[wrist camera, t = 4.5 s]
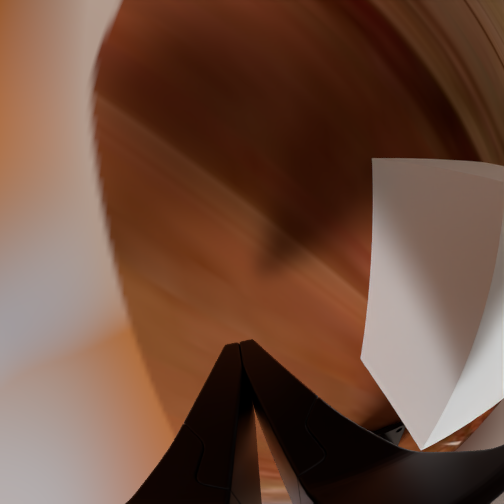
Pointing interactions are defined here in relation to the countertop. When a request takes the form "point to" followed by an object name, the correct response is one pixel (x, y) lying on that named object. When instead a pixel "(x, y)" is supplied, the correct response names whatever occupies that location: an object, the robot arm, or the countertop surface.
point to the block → (436, 292)
